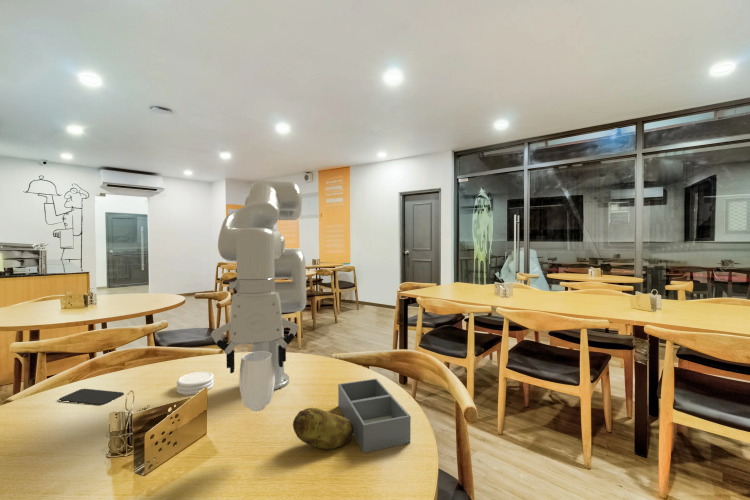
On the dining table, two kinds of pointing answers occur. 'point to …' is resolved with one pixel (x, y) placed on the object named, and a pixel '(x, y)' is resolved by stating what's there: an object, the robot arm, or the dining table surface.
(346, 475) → the dining table surface
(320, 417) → the potato
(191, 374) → the coaster
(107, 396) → the phone
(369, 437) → the divided open storage box
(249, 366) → the cup
